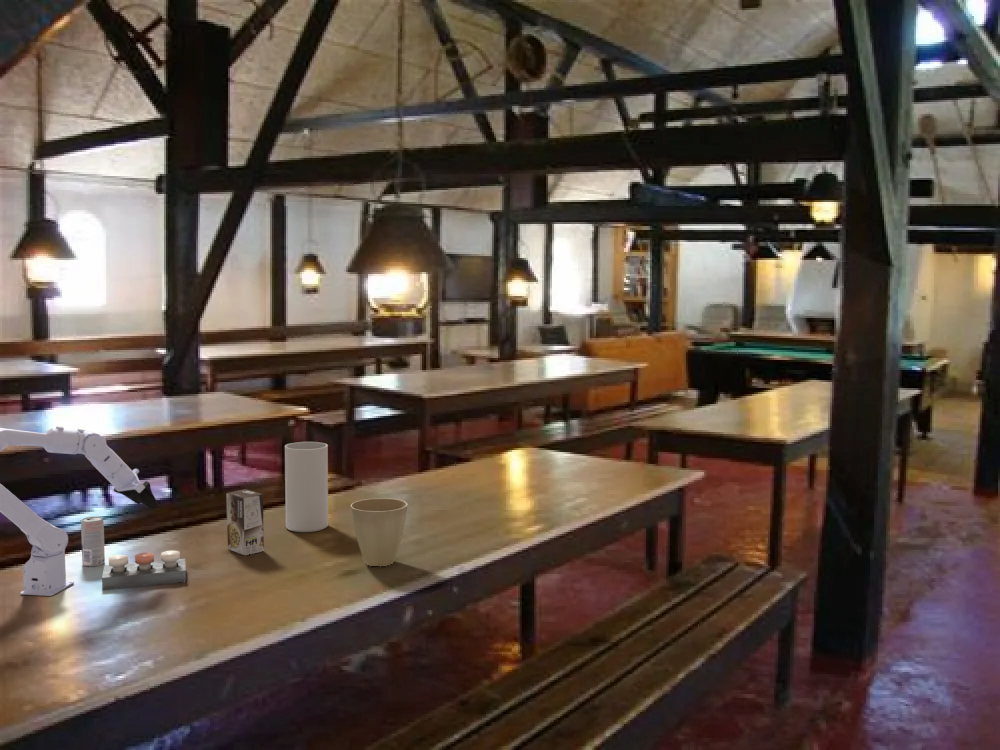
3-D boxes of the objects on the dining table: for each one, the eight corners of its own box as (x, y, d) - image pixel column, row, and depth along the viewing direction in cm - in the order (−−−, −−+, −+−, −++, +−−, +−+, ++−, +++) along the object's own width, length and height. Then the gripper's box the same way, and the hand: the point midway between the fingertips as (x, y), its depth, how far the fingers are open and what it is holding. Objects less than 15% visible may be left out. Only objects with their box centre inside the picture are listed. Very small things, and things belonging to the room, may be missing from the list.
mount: (102, 589, 220) (101, 577, 220) (105, 576, 230) (104, 565, 229) (185, 582, 227) (185, 570, 226) (185, 569, 236) (185, 558, 236)
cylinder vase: (333, 522, 283) (332, 442, 280) (321, 533, 270) (320, 450, 267) (293, 521, 284) (292, 441, 281) (280, 532, 271) (279, 448, 269)
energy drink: (98, 559, 243) (97, 515, 242) (108, 563, 240) (107, 518, 239) (78, 564, 239) (76, 519, 238) (88, 568, 236) (87, 522, 235)
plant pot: (415, 557, 249) (415, 500, 247) (394, 574, 235) (394, 513, 233) (364, 552, 253) (364, 495, 251) (341, 568, 239) (340, 508, 237)
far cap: (161, 572, 227) (160, 556, 227) (161, 567, 231) (161, 551, 231) (180, 570, 229) (179, 554, 228) (179, 565, 233) (179, 549, 232)
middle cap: (135, 574, 225) (134, 558, 225) (135, 569, 229) (135, 553, 229) (154, 573, 227) (153, 557, 226) (154, 567, 231) (154, 551, 230)
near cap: (108, 577, 223) (108, 560, 223) (109, 571, 227) (109, 555, 227) (128, 575, 225) (127, 559, 224) (128, 570, 229) (128, 554, 228)
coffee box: (265, 551, 253) (264, 493, 251) (244, 556, 248) (243, 497, 246) (247, 544, 259) (246, 488, 257) (226, 549, 254) (225, 492, 252)
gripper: (138, 461, 227) (172, 497, 234) (113, 452, 237) (146, 487, 244) (116, 482, 223) (152, 518, 230) (92, 473, 233) (126, 507, 240)
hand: (148, 504), depth 237 cm, fingers open, 7 cm apart
